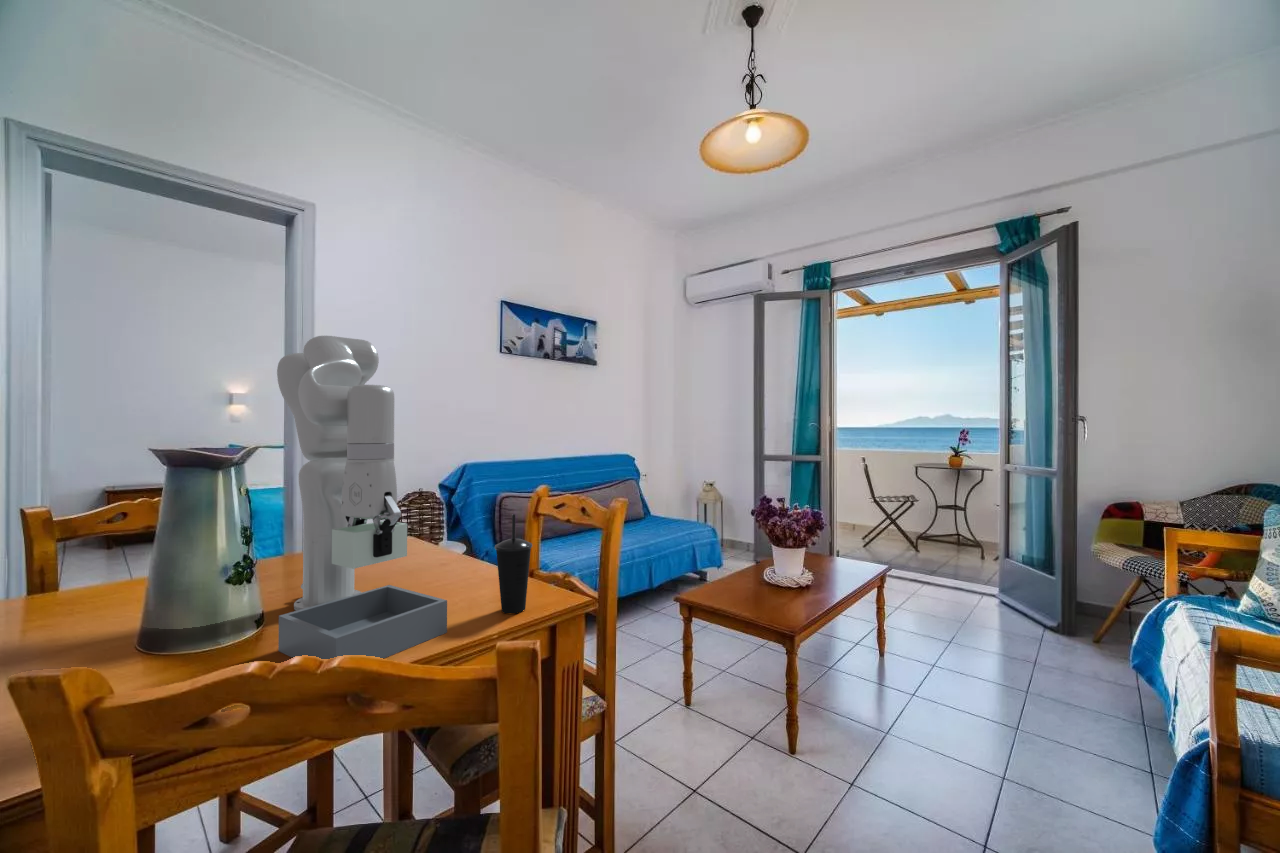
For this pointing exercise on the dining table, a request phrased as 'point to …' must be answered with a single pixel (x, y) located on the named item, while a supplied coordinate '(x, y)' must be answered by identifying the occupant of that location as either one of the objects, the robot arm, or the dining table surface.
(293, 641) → the big crate
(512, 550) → the drinking cup
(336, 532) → the block
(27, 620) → the dining table surface
